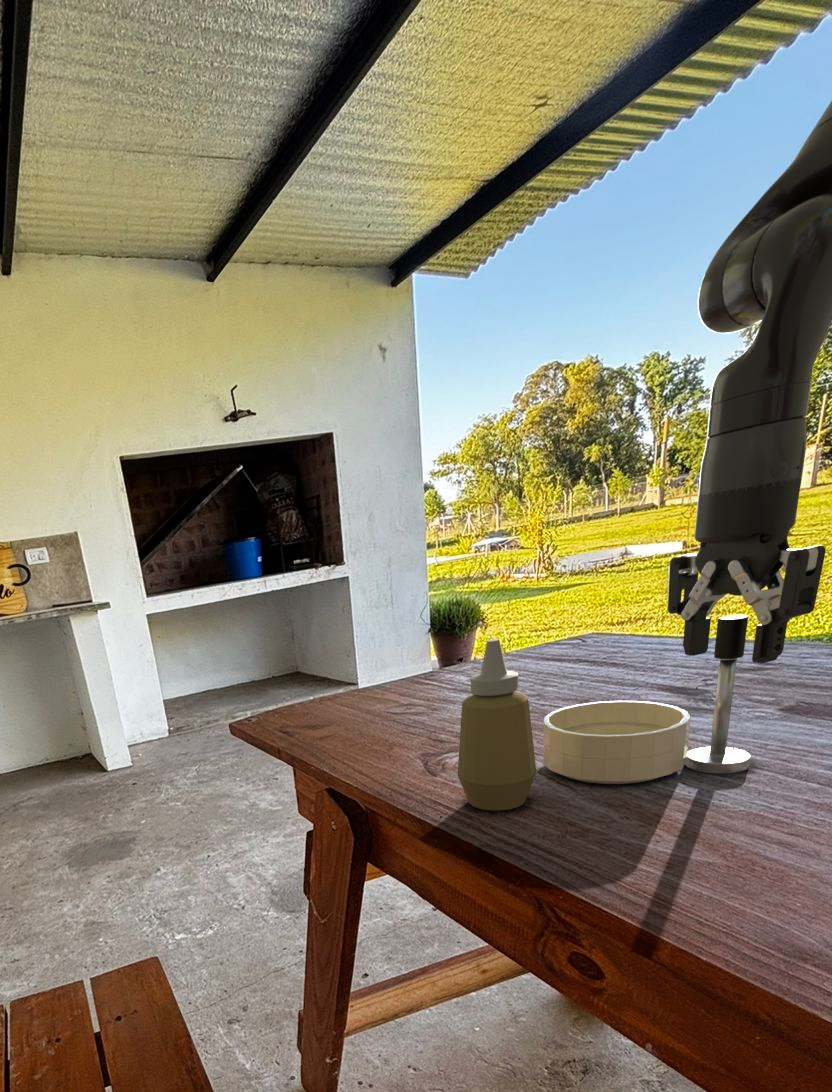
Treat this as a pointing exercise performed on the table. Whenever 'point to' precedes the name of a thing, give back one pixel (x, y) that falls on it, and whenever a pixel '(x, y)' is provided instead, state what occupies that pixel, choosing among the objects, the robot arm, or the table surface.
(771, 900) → the table surface
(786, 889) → the table surface
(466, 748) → the squeeze bottle
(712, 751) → the rod on round base
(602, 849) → the table surface
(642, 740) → the bowl
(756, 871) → the table surface
